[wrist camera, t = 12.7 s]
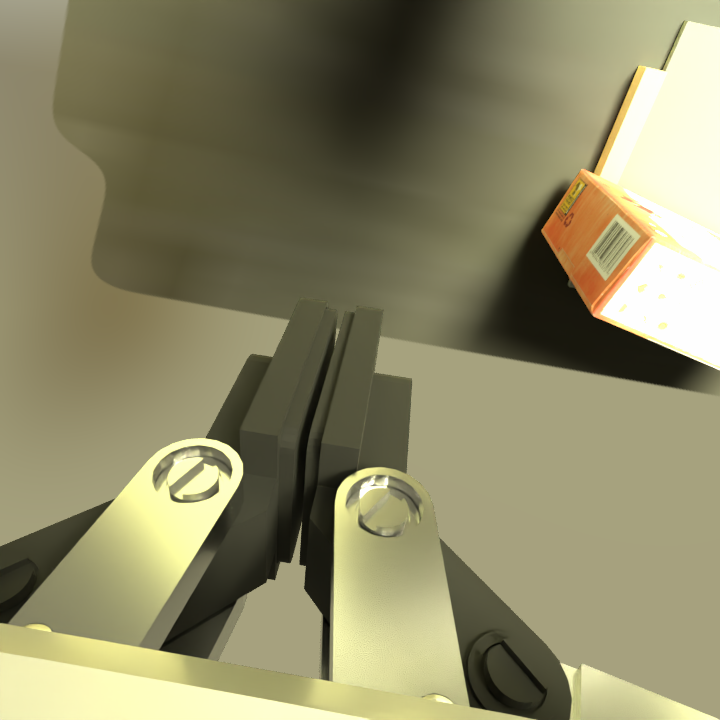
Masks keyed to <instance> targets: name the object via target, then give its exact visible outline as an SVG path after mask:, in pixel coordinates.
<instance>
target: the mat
mask: <svg viewBox="0 0 720 720" xmlns="http://www.w3.org/2000/svg"><path fill="white" fill-rule="evenodd" d="M594 174H595V175H597V176H599V177H602V178H604V179H606V180H608V181H610V182H612V183H614V184H616V185H618V186H620V187H622V188H624V189H626V190H628V191H630V192H632V193H634V194H636V195H638V196H640V197H642V198H644V199H646V200H648V201H650V202H653V203H655V204H657V205H659V206H661V207H663V208H665V209H667V210H669V211H671V212H673V213H675V214H677V215H679V216H681V217H683V218H686V219H688V220H690V221H692V222H694V223H696V224H698V225H700V226H702V227H704V228H706V229H708V230H710V231H712V232H714V233H716V234H718V235H720V28H718V27H713V26H708V25H704V24H699V23H694V22H690V21H684V23H683V25H682V27H681V30H680V32H679V34H678V36H677V39H676V41H675V43H674V45H673V48H672V50H671V52H670V54H669V57H668V59H667V61H666V63H665V66H664V68H663V70H658V69H653V68H648V67H643V66H638V69H637V71H636V74H635V76H634V78H633V81H632V83H631V85H630V88H629V90H628V93H627V95H626V97H625V100H624V102H623V105H622V107H621V109H620V112H619V114H618V116H617V119H616V121H615V124H614V126H613V128H612V131H611V133H610V135H609V138H608V140H607V143H606V145H605V147H604V150H603V152H602V155H601V157H600V159H599V162H598V164H597V166H596V169H595V171H594ZM568 286H569V287H573V288H575V286H574V285H573V283H572V281H571V280H570V279H569V282H568Z"/></svg>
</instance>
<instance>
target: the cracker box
mask: <svg viewBox="0 0 720 720" xmlns="http://www.w3.org/2000/svg"><path fill="white" fill-rule="evenodd" d="M541 232H542V234H543V235H544V237H545V238H546V240H547V242H548V243H549V245H550V247H551V248H552V250H553V252H554V253H555V255H556V257H557V258H558V260H559V262H560V263H561V265H562V266H563V268H564V270H565V271H566V273H567V275H568V276H569V278H570V280H571V281H572V283H573V285H574V286H575V288H576V290H577V291H578V293H579V295H580V296H581V298H582V299H583V301H584V303H585V305H586V306H587V308H588V309H589V311H590V313H591V314H592V316H594V317H596V318H598V319H601V320H603V321H605V322H608V323H610V324H613V325H615V326H617V327H619V328H622V329H624V330H627V331H629V332H631V333H634V334H636V335H638V336H640V337H643V338H645V339H647V340H650V341H652V342H654V343H657V344H659V345H661V346H664V347H666V348H668V349H671V350H673V351H675V352H678V353H680V354H682V355H685V356H687V357H689V358H692V359H694V360H696V361H699V362H701V363H703V364H706V365H708V366H710V367H713V368H715V369H717V370H719V371H720V235H718V234H716V233H714V232H712V231H710V230H708V229H706V228H704V227H702V226H700V225H698V224H696V223H694V222H692V221H690V220H688V219H686V218H683V217H681V216H679V215H677V214H675V213H673V212H671V211H669V210H667V209H665V208H663V207H661V206H659V205H657V204H655V203H653V202H650V201H648V200H646V199H644V198H642V197H640V196H638V195H636V194H634V193H632V192H630V191H628V190H626V189H624V188H622V187H620V186H618V185H616V184H614V183H612V182H610V181H608V180H606V179H604V178H602V177H599V176H597V175H595V174H593V173H591V172H589V171H587V170H585V169H581V171H580V172H579V174H578V175H577V176H576V178H575V179H574V181H573V182H572V184H571V186H570V187H569V189H568V190H567V192H566V193H565V195H564V197H563V198H562V200H561V201H560V203H559V204H558V206H557V207H556V209H555V210H554V212H553V213H552V215H551V217H550V218H549V220H548V221H547V223H546V224H545V226H544V227H543V229H542V231H541Z"/></svg>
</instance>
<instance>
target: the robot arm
mask: <svg viewBox="0 0 720 720" xmlns="http://www.w3.org/2000/svg"><path fill="white" fill-rule="evenodd" d="M382 317H383V310H381V309H374V308H367V307H361V306H357V307H356V311H355V313H353V312H345V314H344V317H343V321H342V324H341V327H340V331H339V334H338V338H337V341H336V345H335V335H336V325H337V310H333V309H328V302H327V301H321V300H314V299H307V298H300V300H299V302H298V304H297V306H296V308H295V310H294V313H293V315H292V317H291V319H290V321H289V323H288V326H287V328H286V330H285V332H284V334H283V336H282V339H281V341H280V343H279V345H278V347H277V350H276V352H275V354H274V356H273V357H268V356H262V355H256V354H252V355H250V356H249V358H248V359H247V361H246V363H245V365H244V366H243V369H242V370H241V372H240V374H239V376H238V378H237V380H236V382H235V384H234V385H233V387H232V389H231V391H230V393H229V395H228V397H227V399H226V400H225V402H224V404H223V406H222V408H221V410H220V412H219V414H218V416H217V417H216V420H215V421H214V423H213V425H212V427H211V429H210V431H209V433H208V434H207V436H206V438H205V439H204V438H200V439H187V440H183V441H180V442H176V443H173V444H171V445H169V446H167V447H165V448H163V449H162V450H159V451H158V452H157V453H156V454H155V455H154V456H153V457H152V458H150V459H149V460H148V462H147V463H146V464H145V465H144V466H143V467H142V468H141V470H140V471H139V472H138V473H137V474H136V475H135V477H134V478H133V479H132V480H131V481H130V482H129V483H128V485H127V486H126V487H125V488H124V489H123V490H122V492H121V493H120V494H119V495H118V496H117V497H116V499H113V500H111V501H108V502H106V503H104V504H101V505H99V506H96V507H94V508H92V509H89V510H87V511H84V512H82V513H80V514H77V515H75V516H72V517H70V518H68V519H65V520H63V521H60V522H58V523H55V524H53V525H51V526H48V527H46V528H43V529H41V530H39V531H37V532H34V533H31V534H29V535H27V536H24V537H22V538H20V539H17V540H15V541H12V542H10V543H7V544H5V545H3V546H0V720H719V719H717V718H715V717H712V716H710V715H707V714H704V713H702V712H700V711H697V710H695V709H692V708H690V707H688V706H685V705H682V704H680V703H678V702H675V701H673V700H670V699H668V698H665V697H663V696H660V695H658V694H655V693H653V692H650V691H648V690H646V689H643V688H641V687H638V686H636V685H633V684H631V683H628V682H626V681H623V680H621V679H618V678H616V677H614V676H611V675H609V674H606V673H604V672H601V671H599V670H596V669H594V668H592V667H589V666H587V665H584V664H581V665H580V666H579V668H578V669H575V668H572V667H569V666H567V665H565V664H562V663H560V662H559V660H558V659H557V658H556V656H555V655H554V654H553V653H552V651H551V650H550V649H549V648H548V646H547V645H546V644H545V643H544V642H543V641H542V640H541V639H540V638H539V637H538V636H537V635H536V634H535V633H534V632H533V631H532V630H531V629H530V628H529V627H528V626H527V625H526V624H525V623H524V622H523V621H522V620H521V619H520V618H519V617H518V616H517V615H516V614H515V613H514V612H513V611H512V610H511V609H510V608H509V607H508V606H507V605H506V604H505V603H504V602H503V601H502V600H501V599H500V598H499V597H498V596H497V595H496V594H495V593H494V592H493V591H492V590H491V589H490V588H489V587H488V586H487V585H486V584H485V583H484V582H483V581H482V580H481V579H480V578H479V577H478V576H477V575H476V574H475V573H474V572H473V571H472V570H471V569H470V568H469V567H468V566H467V565H466V564H465V563H464V562H463V561H462V560H461V559H460V558H459V557H458V556H457V555H456V554H455V553H454V552H453V551H452V550H451V549H450V548H449V547H448V546H447V545H446V544H445V543H444V542H443V541H442V540H441V539H440V538H439V534H438V529H437V523H436V517H435V512H434V506H433V503H432V501H431V498H430V495H429V494H428V492H427V491H426V490H425V488H424V487H423V486H422V485H421V484H420V483H419V482H418V481H416V480H415V479H414V478H412V477H411V476H410V475H408V474H406V470H407V454H408V438H409V422H410V406H411V389H412V379H410V378H404V377H398V376H391V375H385V374H379V373H374V371H375V365H376V358H377V351H378V344H379V338H380V331H381V324H382ZM334 347H335V348H334ZM301 522H302V531H301V548H300V565H304V566H306V572H305V586H304V589H305V591H306V592H307V593H308V595H309V596H310V598H311V599H312V600H313V602H314V603H315V604H316V606H317V607H318V609H319V610H320V612H321V613H322V618H321V639H320V670H319V673H320V674H319V679H314V678H308V677H303V676H297V675H292V674H286V673H280V672H275V671H269V670H264V669H258V668H252V667H247V666H241V665H236V664H231V663H225V662H219V661H218V660H219V658H220V655H221V654H222V652H223V650H224V648H225V645H226V643H227V641H228V639H229V637H230V635H231V633H232V631H233V629H234V627H235V625H236V623H237V621H238V618H239V617H240V614H241V613H242V610H243V608H244V605H245V602H246V599H247V593H249V592H251V591H252V590H254V589H256V588H257V587H259V586H261V585H262V584H264V583H266V581H267V579H272V580H275V578H276V575H277V571H278V567H279V564H280V562H286V563H291V560H292V557H293V553H294V550H295V546H296V542H297V538H298V534H299V530H300V526H301Z"/></svg>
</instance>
